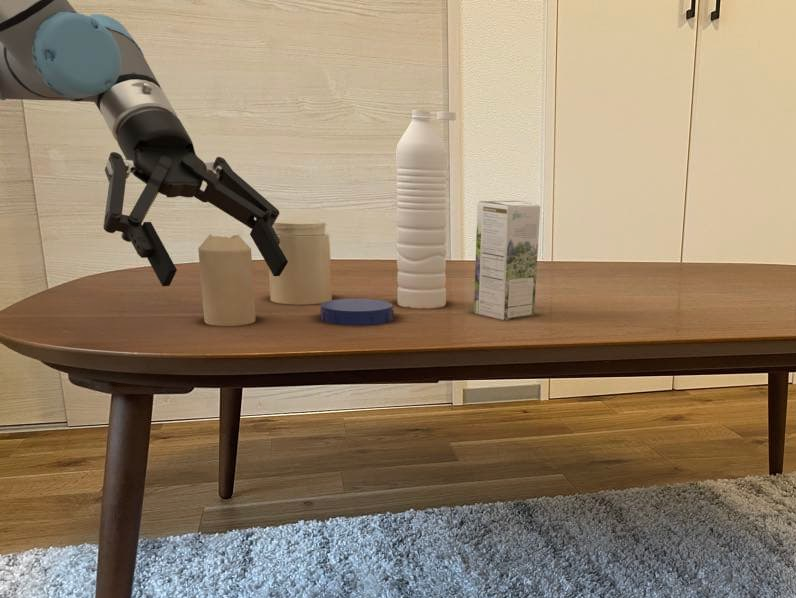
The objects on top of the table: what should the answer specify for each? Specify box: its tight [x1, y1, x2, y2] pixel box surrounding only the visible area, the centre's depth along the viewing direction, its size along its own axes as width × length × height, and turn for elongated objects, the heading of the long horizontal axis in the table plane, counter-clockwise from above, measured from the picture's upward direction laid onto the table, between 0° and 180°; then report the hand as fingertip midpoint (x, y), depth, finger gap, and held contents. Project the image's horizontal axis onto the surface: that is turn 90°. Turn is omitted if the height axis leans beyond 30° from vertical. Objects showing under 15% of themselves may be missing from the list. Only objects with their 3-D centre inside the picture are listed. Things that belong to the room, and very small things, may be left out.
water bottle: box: [395, 109, 457, 310], centre depth 103 cm, size 9×6×25 cm
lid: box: [320, 298, 394, 327], centre depth 94 cm, size 8×8×2 cm
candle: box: [197, 234, 256, 327], centre depth 88 cm, size 6×6×10 cm
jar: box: [268, 218, 333, 305], centre depth 104 cm, size 8×8×10 cm
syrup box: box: [473, 200, 541, 321], centre depth 99 cm, size 6×6×14 cm
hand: (228, 273), depth 87 cm, fingers open, 13 cm apart
